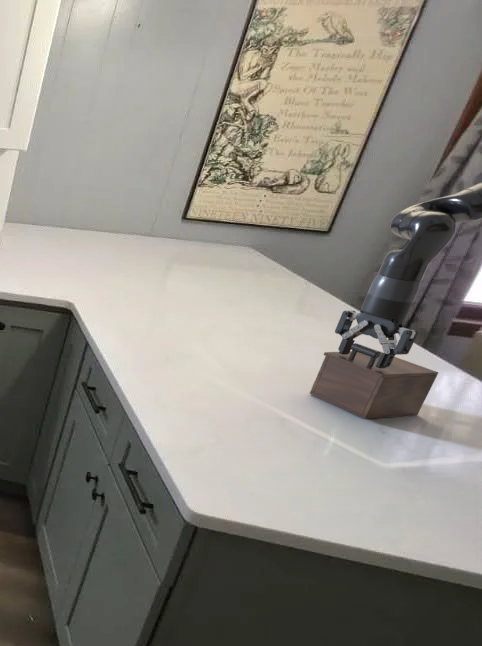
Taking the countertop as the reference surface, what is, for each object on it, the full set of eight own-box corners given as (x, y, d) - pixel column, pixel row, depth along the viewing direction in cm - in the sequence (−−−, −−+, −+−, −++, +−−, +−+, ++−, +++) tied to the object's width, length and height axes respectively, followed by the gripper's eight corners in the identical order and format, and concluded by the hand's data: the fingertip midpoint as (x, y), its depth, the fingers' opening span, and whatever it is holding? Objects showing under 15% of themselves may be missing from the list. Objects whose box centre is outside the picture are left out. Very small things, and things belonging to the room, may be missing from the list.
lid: (381, 377, 144) (390, 358, 142) (323, 355, 156) (330, 337, 154) (437, 375, 147) (446, 356, 145) (375, 353, 159) (383, 335, 157)
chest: (365, 418, 148) (384, 377, 144) (309, 393, 160) (325, 354, 156) (416, 416, 151) (437, 375, 147) (358, 391, 162) (375, 353, 159)
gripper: (442, 306, 138) (409, 373, 144) (368, 285, 151) (341, 348, 157) (415, 306, 137) (383, 374, 143) (343, 286, 150) (317, 348, 156)
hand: (361, 360), depth 150 cm, fingers open, 7 cm apart
